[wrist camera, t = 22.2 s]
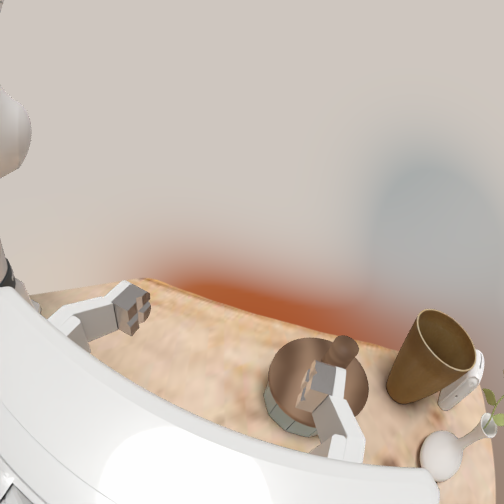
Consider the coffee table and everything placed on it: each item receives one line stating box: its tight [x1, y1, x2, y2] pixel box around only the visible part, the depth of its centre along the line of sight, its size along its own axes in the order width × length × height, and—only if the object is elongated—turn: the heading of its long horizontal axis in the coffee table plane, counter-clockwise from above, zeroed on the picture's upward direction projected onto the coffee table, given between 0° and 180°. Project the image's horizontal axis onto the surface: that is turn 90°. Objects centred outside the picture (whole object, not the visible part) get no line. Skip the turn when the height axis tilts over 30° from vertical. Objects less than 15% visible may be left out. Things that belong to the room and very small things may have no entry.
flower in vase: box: [420, 371, 504, 482], centre depth 23 cm, size 13×11×25 cm
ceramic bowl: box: [263, 382, 318, 437], centre depth 39 cm, size 14×14×6 cm
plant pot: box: [386, 309, 476, 404], centre depth 40 cm, size 15×15×16 cm
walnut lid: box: [268, 336, 369, 428], centre depth 35 cm, size 16×16×9 cm
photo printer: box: [438, 350, 484, 410], centre depth 39 cm, size 10×4×12 cm, turn 135°
